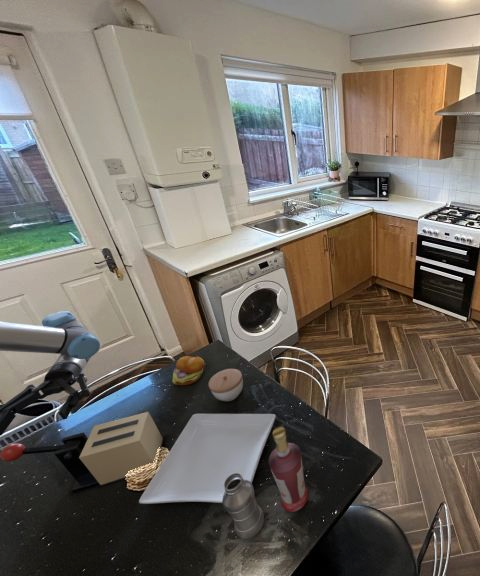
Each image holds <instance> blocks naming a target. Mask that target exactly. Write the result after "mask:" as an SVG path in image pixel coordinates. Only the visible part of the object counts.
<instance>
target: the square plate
mask: <svg viewBox="0 0 480 576" xmlns="http://www.w3.org/2000/svg"><path fill="white" fill-rule="evenodd" d="M276 417H277V415H276V414H274V413H194V414H192V416H190V418H189V420H188V422H187V423H186V424H185V427H184V428H183V430H182V431H181V433H180V434H179V436H178V437H177V439H176V441H175V443H174V444H173V446H172V447H171V449H170V450H169V452H168V453H167V455H166V456H165V459H163V461H162V463H161V464H160V466H159V467H158V468H157V471H156V473H155V474H154V476H153V477H152V478H151V481H150V482H149V484H147V487H146V488H145V490H144V491H143V493H142V494H141V496H140V498H139V500H138V503H139V504H141V505H151V504H166V503H167V504H168V503H187V502H188V503H189V502H191V503H192V502H194V503H195V502H197V503H198V502H199V503H200V502H201V503H215V504H216V503H218V504H222V500H223V494H224V492H225V488H224V482H225V480H226V479H227V478H228V477H229V476H230V475H231V474H234V473H239V474H241V475H242V478H243V479H246V480H248V481H250V482H251V483H252V484H253V481H254V477H255V474H256V471H257V469H258V465H259V462H260V459H261V456H262V455H263V452H264V448H265V446H266V443H267V440H268V438H269V435H270V433H271V430H272V428H273V426H274V423H275V421H276Z"/></svg>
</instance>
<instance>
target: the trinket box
mask: <svg viewBox="0 0 480 576" xmlns="http://www.w3.org/2000/svg"><path fill="white" fill-rule="evenodd" d="M242 374H243V373H242V372H241V370H239V369H236V368H226V369H223V370H220V371H218V372H216V374H214V375H212V376H211V378H210V379H209V381H208V388H209V390H210V392H211V394H212V396H213V397H214V398H215V399H217V400H218V401H221V402H231V401H234V400H235V399H237V398H238V397H239V395H241V393H242V391H243V388H244V380H243V379H244V378H243V375H242Z"/></svg>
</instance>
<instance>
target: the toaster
mask: <svg viewBox="0 0 480 576" xmlns="http://www.w3.org/2000/svg"><path fill="white" fill-rule="evenodd" d="M87 438H88V440H87V442H86V444H85V446H84V448H83V450H82V453H81V455H80V457H79V458H80V459H81V461H82V462H83V463H84V465H85V466H86V467H87V468H88V470H89V471H90V472H91V473H92V475H93V476H94V477H95V479H96V480H97V481H98V482H99V484H100V485H99V486H100V487H102V486H106V485H108V484H112V483H115V482H119V481H122V480H125V479H127V478H126V476H125V475H126V474H127V473H128V471H130V470H132V469H135V468H138V467H140V466H143V465H146V464H149V463H153V461H154V458H155V455H156V452H157V449H158V448H159V447H160V448H161V449H162V447H163V444H164V440H165V438H164V437H163V436H162V434H161V432H160V431H159V429H158V426H157V424H156V423H155V421H154V419H153V417H152V416H151V414H150V412H149V411H145V412H142V413H138V414H133V415H130V416H126V417H122V418H118V419H115V420H110V421H107V422H104V423H100V424H96V425H94V426H93V427H92V429H91V432H90V434H89V435H88V437H87Z"/></svg>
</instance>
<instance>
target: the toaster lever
mask: <svg viewBox="0 0 480 576" xmlns="http://www.w3.org/2000/svg"><path fill="white" fill-rule="evenodd" d="M76 445H78V447H79V448H81V440H74V441H67V443H66V444H57V445H45V446H34V447H26V446H25V445H24V444H23V443H20V442H16V443H15V442H14V443H10V444H9V445H6V446H5V447H3V449H2V450H1V452H0V459H1V460H2V461H3V462H13V461H16V460H18V459H20V458H21V457H22V456H23V455H32V454H44V453H55V452H56V451H58V450H61V449H65V448H68V447H72V446H76Z"/></svg>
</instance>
